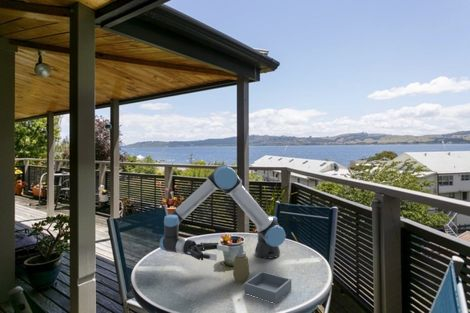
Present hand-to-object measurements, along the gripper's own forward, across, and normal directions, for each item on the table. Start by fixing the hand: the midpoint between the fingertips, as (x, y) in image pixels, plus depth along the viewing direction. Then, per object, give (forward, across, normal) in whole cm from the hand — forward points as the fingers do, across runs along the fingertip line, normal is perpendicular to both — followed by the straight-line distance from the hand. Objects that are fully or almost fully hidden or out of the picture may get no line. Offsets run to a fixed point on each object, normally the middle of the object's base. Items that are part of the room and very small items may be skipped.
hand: (222, 253), depth 155 cm
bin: (+26, +5, -12) cm, 29 cm away
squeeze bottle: (+10, 0, -13) cm, 16 cm away
